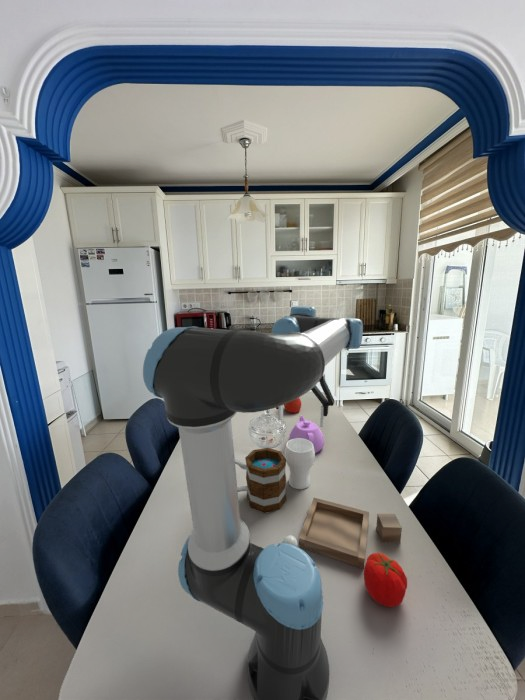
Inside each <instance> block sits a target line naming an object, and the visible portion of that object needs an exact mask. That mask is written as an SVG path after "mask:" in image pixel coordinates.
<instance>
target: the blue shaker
mask: <svg viewBox="0 0 525 700" xmlns="http://www.w3.org/2000/svg"><path fill="white" fill-rule="evenodd" d="M281 543H287V544H292V545H294V546H297V547H298V548H299V541H298V540H297V538H296V537H295V536H294V535H292V534H291V535H289V534H288V535H286V536H285V537H284V538H283V540H282V542H281Z"/></svg>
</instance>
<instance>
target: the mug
mask: <svg viewBox="0 0 525 700" xmlns="http://www.w3.org/2000/svg"><path fill="white" fill-rule="evenodd" d="M244 458H245V459H244V460H245V463H243V462H242V461H241V460H239V459H238V458H235V465H238V466H239V468H240V469H242V470H246V473H245V474H246V475H245V480H246V485H243V486H237V491H238V493H241V492H246V499H247V503H248V504H249V505H248V506H249V508H250V509H252V510H255V511H257V512H259V513H263V514H267V513H272V512H275V511H280V510H281V509H282V507H283V505H284V504H285V503H286V502H287V496H286V495H287V494H286V485H287V475H286V465H287V462H286V459H285V454H283V453H282V451H281V450H277V449H273V448H270V447H263V448H258V449H253V450H251V452H249V454H248V455H247V456H245V457H244Z"/></svg>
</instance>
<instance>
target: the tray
mask: <svg viewBox="0 0 525 700" xmlns="http://www.w3.org/2000/svg"><path fill="white" fill-rule="evenodd" d="M369 518H370V512H369V511H366V510H363V509H359V508H355V507H351V506H348V505H343V504H341V503H336V502H333V501H329V500H325V499H321V498H318V497H313V498H312V502H311V504H310V506H309V509H308V513H307V516H306V518H305V520H304V523H303V527H302V529H301V532H300V535H299V537H298V548H300V549H302V550H305V551H306V550H307V551H310V552H313V553H316V554H318V555H322V556H323V557H324V556H325V557H328V558H331V559H334V560H337V561H340V562H341V563H342V562H343V563H345V564H349V565H352V566H354V567H357V568H360V569H363V570H364V568H365V564H366V550H367V543H368V541H367V540H368V539H367V538H368V533H369V532H368V531H369V530H368V529H369Z"/></svg>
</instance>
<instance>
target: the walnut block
mask: <svg viewBox="0 0 525 700" xmlns="http://www.w3.org/2000/svg"><path fill="white" fill-rule="evenodd" d="M376 515H377V517H376V526H375V527H376V530H377V533H378V535H379V538H380V540H381V542H382V543H399V544H401V539H402V529H403V527H402V525H401V523H400V521H399V519H398V517H397V515H396V513H377V514H376Z"/></svg>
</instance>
